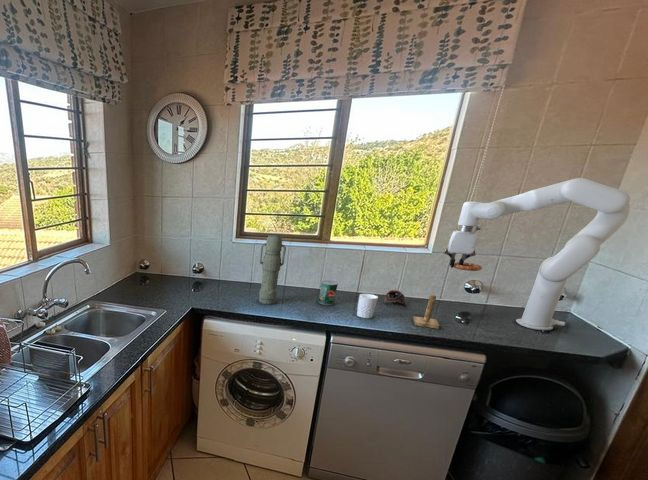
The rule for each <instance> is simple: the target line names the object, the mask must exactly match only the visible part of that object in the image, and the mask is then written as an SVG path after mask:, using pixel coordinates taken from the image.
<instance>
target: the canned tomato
mask: <svg viewBox="0 0 648 480" xmlns="http://www.w3.org/2000/svg"><path fill="white" fill-rule="evenodd" d="M338 285H339V282H337V281H333V280H321V282H320V288H319V294H318V300H317V303H318V304H321V305H323V306H324V305H325V306H333V305H335V301H336V295H337V291H338Z"/></svg>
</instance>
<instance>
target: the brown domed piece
mask: <svg viewBox="0 0 648 480" xmlns="http://www.w3.org/2000/svg"><path fill="white" fill-rule="evenodd" d="M383 302H384V304H385V305H386V304H388V303H389V304H393V303H402V304H403V305H404V306H405V305H406V299H405V295H404V294H403V293H402V292H401V291H400V290H397V289H391V290H389V291H387V292H386V293H385V297H384V300H383Z"/></svg>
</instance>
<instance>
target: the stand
mask: <svg viewBox="0 0 648 480" xmlns="http://www.w3.org/2000/svg"><path fill="white" fill-rule="evenodd" d="M436 300H437V295H436V294H430V295H429V297H428V302H427V305H426V309H425V312H424V316H423V317H421V316H413V317H412V321H413V324H414V326H416V327H417V326H418V327H424V328H433V329H437V330H438V329H440V323H439V321H438V319H436V318H431V317H432V314H433V310H434V307H435V304H436Z"/></svg>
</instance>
